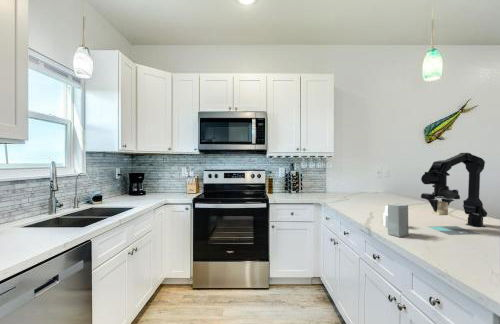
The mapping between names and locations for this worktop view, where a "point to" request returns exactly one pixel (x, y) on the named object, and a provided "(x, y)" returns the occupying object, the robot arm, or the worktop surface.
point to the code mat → (453, 230)
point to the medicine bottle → (385, 217)
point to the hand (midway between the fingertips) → (440, 211)
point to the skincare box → (398, 220)
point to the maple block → (441, 208)
